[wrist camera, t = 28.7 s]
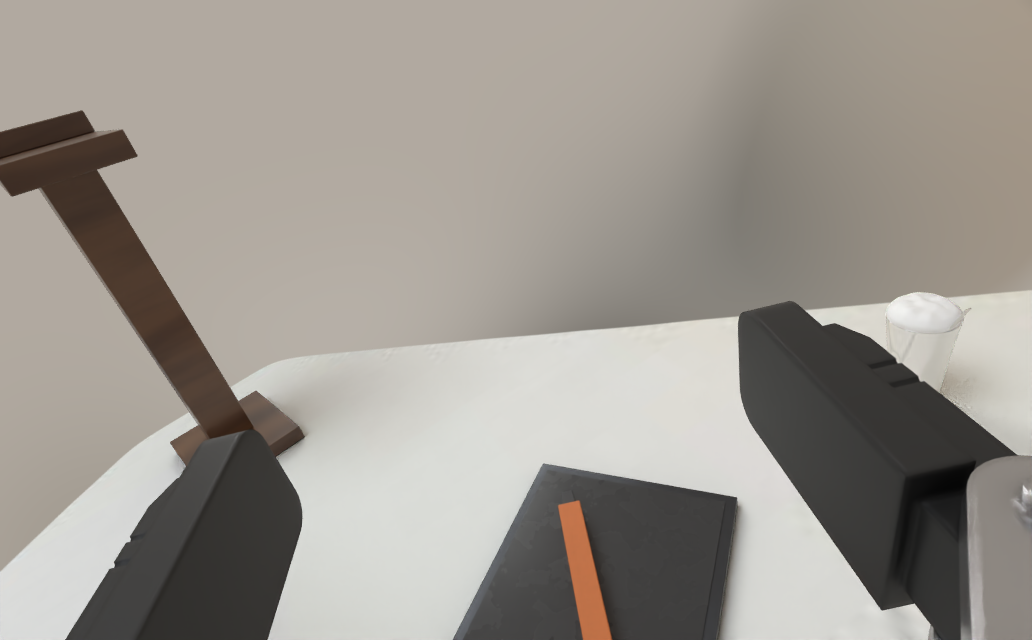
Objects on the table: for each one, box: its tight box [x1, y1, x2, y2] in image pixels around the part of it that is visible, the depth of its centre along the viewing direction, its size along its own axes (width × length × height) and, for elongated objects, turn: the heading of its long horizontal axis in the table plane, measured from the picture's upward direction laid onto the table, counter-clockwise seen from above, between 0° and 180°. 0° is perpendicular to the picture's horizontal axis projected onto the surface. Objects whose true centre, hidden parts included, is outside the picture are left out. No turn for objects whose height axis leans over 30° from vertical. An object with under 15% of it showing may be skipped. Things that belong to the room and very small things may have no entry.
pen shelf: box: [0, 111, 304, 466], centre depth 50 cm, size 14×10×34 cm
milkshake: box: [886, 292, 971, 392], centre depth 41 cm, size 4×5×10 cm
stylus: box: [558, 490, 612, 640], centre depth 33 cm, size 19×2×2 cm, turn 5°
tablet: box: [453, 464, 737, 640], centre depth 35 cm, size 20×15×1 cm
